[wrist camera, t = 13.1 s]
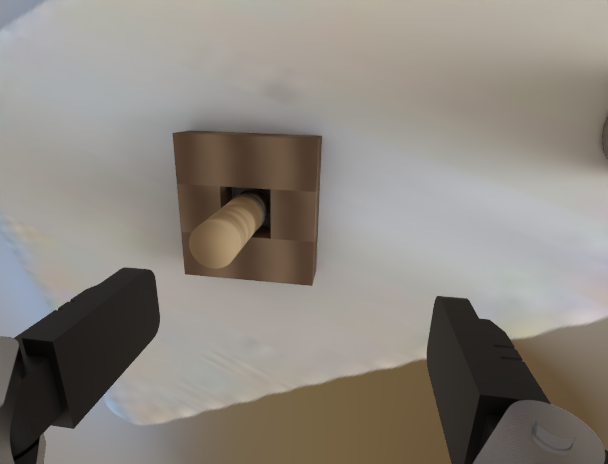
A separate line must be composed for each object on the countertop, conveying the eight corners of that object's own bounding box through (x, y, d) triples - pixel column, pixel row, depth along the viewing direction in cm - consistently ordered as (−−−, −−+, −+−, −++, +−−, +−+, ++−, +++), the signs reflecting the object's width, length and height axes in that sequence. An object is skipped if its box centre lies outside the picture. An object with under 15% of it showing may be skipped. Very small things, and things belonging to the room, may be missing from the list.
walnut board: (321, 136, 40) (318, 139, 36) (315, 270, 45) (312, 285, 41) (189, 130, 42) (172, 133, 38) (198, 260, 47) (185, 274, 43)
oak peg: (273, 186, 42) (236, 224, 29) (273, 221, 44) (237, 271, 31) (238, 184, 43) (185, 220, 30) (239, 218, 44) (189, 267, 31)
